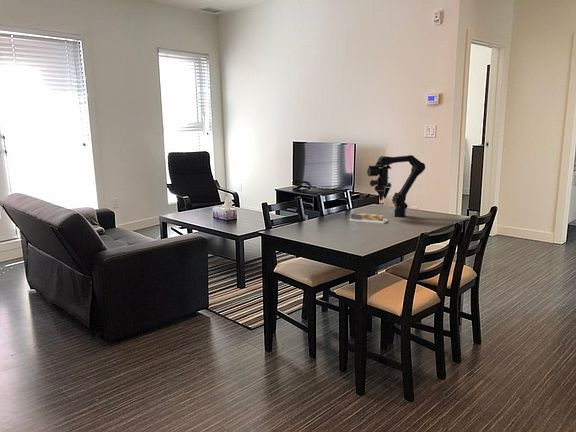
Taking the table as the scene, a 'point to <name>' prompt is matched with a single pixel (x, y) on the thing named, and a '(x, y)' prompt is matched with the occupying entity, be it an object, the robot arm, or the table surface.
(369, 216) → the oak rail
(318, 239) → the table surface
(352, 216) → the bracket plate
